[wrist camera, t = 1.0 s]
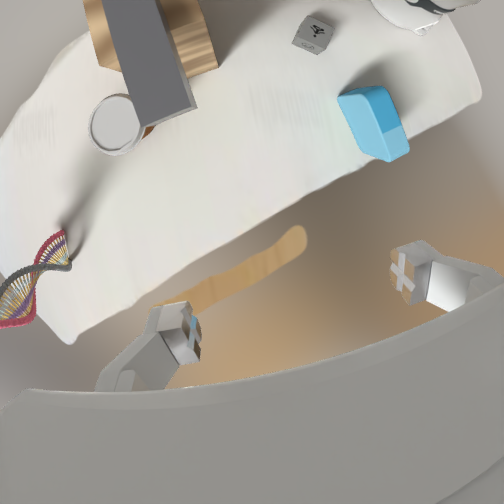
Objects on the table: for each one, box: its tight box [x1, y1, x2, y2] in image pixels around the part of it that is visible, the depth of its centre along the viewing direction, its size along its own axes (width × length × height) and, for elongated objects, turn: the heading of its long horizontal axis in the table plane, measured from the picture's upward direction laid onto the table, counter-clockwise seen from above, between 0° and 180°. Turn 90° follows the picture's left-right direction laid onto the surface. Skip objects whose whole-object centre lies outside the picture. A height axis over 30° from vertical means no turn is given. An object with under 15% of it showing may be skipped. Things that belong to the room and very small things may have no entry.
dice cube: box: [292, 16, 335, 55], centre depth 35 cm, size 5×5×5 cm
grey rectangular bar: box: [101, 0, 197, 128], centre depth 14 cm, size 20×4×4 cm, turn 17°
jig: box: [83, 0, 219, 79], centre depth 22 cm, size 19×10×30 cm, turn 17°
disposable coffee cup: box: [88, 94, 154, 156], centre depth 37 cm, size 10×10×12 cm
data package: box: [337, 86, 410, 162], centre depth 39 cm, size 12×4×12 cm, turn 30°
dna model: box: [0, 230, 72, 329], centre depth 39 cm, size 9×9×30 cm
